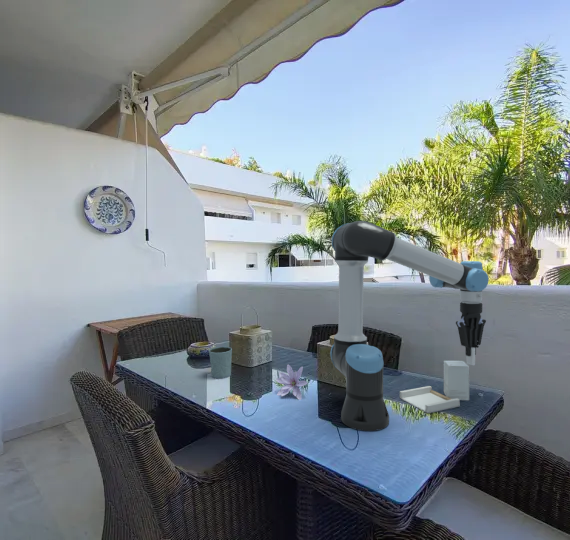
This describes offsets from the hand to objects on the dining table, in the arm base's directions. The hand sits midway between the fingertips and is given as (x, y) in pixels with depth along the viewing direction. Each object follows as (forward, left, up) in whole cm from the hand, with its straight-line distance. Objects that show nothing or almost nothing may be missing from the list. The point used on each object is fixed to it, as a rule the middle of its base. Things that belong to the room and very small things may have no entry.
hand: (470, 364), depth 139 cm
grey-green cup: (-83, +60, -12) cm, 103 cm away
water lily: (-63, +27, -12) cm, 69 cm away
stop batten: (-13, 0, -11) cm, 17 cm away
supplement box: (-7, 0, -12) cm, 14 cm away
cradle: (-20, 0, -11) cm, 23 cm away
